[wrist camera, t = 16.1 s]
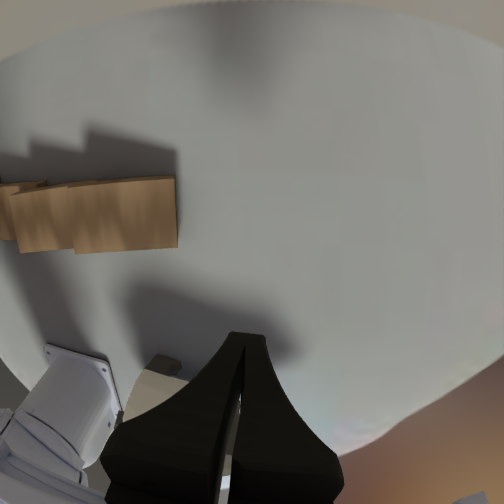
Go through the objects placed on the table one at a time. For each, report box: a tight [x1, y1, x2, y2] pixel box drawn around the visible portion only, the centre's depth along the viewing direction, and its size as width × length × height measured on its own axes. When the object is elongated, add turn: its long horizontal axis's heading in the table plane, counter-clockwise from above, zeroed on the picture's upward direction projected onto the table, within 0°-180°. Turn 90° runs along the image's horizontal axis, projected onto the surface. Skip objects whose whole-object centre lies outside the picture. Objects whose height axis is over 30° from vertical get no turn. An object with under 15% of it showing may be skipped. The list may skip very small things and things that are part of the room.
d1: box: [66, 175, 178, 254], centre depth 19 cm, size 4×2×7 cm
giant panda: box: [114, 355, 240, 476], centre depth 22 cm, size 15×6×10 cm, turn 77°
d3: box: [0, 181, 46, 240], centre depth 20 cm, size 4×2×7 cm
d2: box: [9, 179, 99, 253], centre depth 20 cm, size 4×2×7 cm
